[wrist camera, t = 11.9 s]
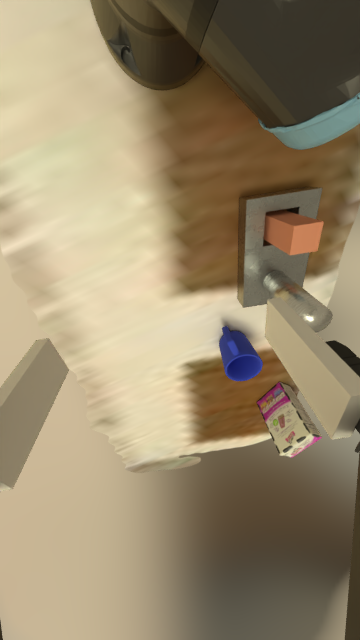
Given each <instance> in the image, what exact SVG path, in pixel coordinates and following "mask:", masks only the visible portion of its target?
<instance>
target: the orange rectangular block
mask: <svg viewBox="0 0 360 640" xmlns="http://www.w3.org/2000/svg"><path fill="white" fill-rule="evenodd" d="M323 223H324V221H320V220H317V219H313V218H309V217H306V216H302V215H299V214H295V213H292V212H288V211H285V210H279V211H272V212H266V213H265V225H264V238H263V239H264V240H266V241H267V242H269V243H271V244H272V245H274V246H275V247H277V248H279V249H280V250H282V251H284V252H285V253H287V254H288V255H295V254H302V253H308V252H315V251H317V250H318V245H319V241H320V236H321V232H322V227H323Z"/></svg>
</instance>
